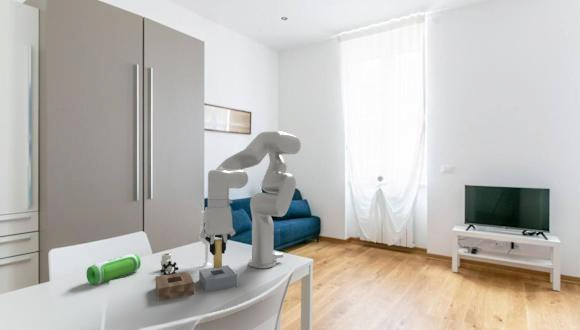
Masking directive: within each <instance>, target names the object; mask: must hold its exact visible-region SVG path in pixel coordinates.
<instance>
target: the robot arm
mask: <svg viewBox="0 0 580 330" xmlns="http://www.w3.org/2000/svg"><path fill="white" fill-rule="evenodd" d="M301 145H302V144H301V141H300V138H299V137H297V136H296V135H293V134H290V133H288V132H283V131H275V130H274V131H261V132H260V133H258V134H257V135H256V137H255V138H253V140H251V142H250V143H249V144H247V146H246V147H245V148H244V149H243V150H240V151H239V152H236V153H235V154H233V155H231V156H229V157H227V158H226V159H224V160H223V161H222V162H221V163H220V164H219V165H218V167H217V168H216V169H212V170H210V171H208V173H207V206H206V207H205V208H204V211H205V212H204V219H203V230H202V232H201V234H200V237H201V238H203V239H205V240H207V241H208V242H209V243H210V244H209V253H211V255H212V256H214V255H215V244H214V239H215V238H214V235H215V236H221V239H222V255H223V254H224V255H225V253H226V251H227V242H228V240H229V239H230V238H231V237H233V236H235V235H236V230H235V229H234V227H233V226H234V224H233V213H232V208H231V206H230V205H231V204H233V203H234V202H233V199H230V189H236V190H238V189H242V188H244V187H245V186H246V185H247V184H248V182H249V175H248V174H247V172H246V171H245V170H246V169H248V168H249V169H250V168H253V167H255V166H257V165H259V164H260V163H261V162H262V160H264V158H265V157H266V156H267V155H268V157H269V163H268V167H267V169H266V171H265V174H264V176H263V177H262V178H263V179H262V182H261V189H262V190H263V191H264V192H258V193H255V194H253V195H252V196H251V198H250V202H249V207H250V214H251V219H252V220H251V225H252V226H251V227H252V228H251V258H250V259H249V260H248V262H247V264H248V265H249V267H250V268H255V269H268V268H273V267H275V266H276V265H277V263H278V262H277V259H280V258H283V257H284V253H282V252H280V253H279V252H274V236H275V235H274V231H275V230H274V229H275V227H274V226H275V224H274V221H273V218H272V217H277V218H278V217H280V218H281V217H283V216H285V215H286V214H287V212H288V211H289V209H290V205H291V202H292V200H293V197H294V194H295V191H296V186H297V181H296V178H295V176H294V175H293V174H291V173H287V166H288V165H287V162H286V160H285V158H284V156H283V155H296V154H298V153H299V152H300V150H301V148H302V147H301ZM205 234H206V235H207V236H206V235H205ZM208 236H209V237H208Z"/></svg>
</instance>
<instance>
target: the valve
mask: <svg viewBox="0 0 580 330" xmlns="http://www.w3.org/2000/svg"><path fill="white" fill-rule="evenodd" d="M160 265H161V269H160V273H162V276H163V275H169V274H175V273H177V272H176V271H178V270H179V266H177V262H175V261H174V262H173V263H172V254H171V253H170V252H166V253H162V254H161V261H160ZM172 270H173V271H172Z"/></svg>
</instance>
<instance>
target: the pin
mask: <svg viewBox="0 0 580 330" xmlns="http://www.w3.org/2000/svg"><path fill="white" fill-rule="evenodd" d="M214 244H215V255H213V267H214V268H221V267H222V266H223V253H222V238H214Z"/></svg>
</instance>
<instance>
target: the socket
mask: <svg viewBox="0 0 580 330" xmlns="http://www.w3.org/2000/svg"><path fill="white" fill-rule="evenodd" d="M237 277H238V274H237V273H236V272H235V271H234V269H232V268H231V267H230V266H229V265H228V264H226V265H222V267H221V268H214V266H213V267H208V268H207V267H206V268H203V269H199V270H198V281H199V282H200V284H201V286H202V288H203V289H204V291H205V293H207V292H213V291H217V290H222V289H228V288H234V287H235V288H236V289H237V287H238V285H237V283H238V279H237Z"/></svg>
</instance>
